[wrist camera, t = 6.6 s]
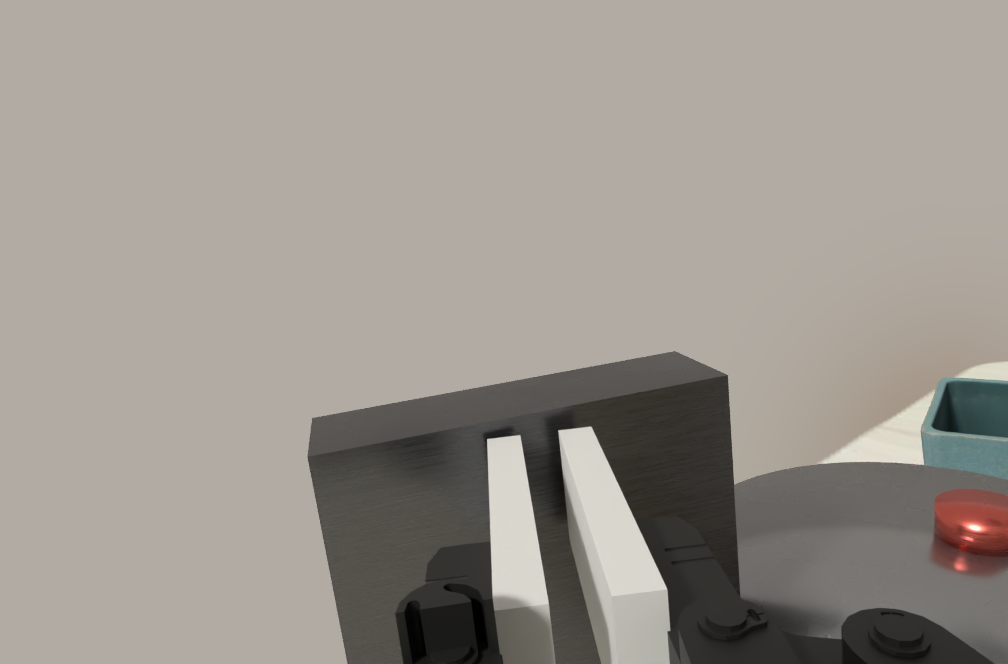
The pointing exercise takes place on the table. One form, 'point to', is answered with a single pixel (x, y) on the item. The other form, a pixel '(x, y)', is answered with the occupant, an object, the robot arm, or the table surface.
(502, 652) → the robot arm
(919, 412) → the table surface
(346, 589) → the lid
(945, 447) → the flower pot
